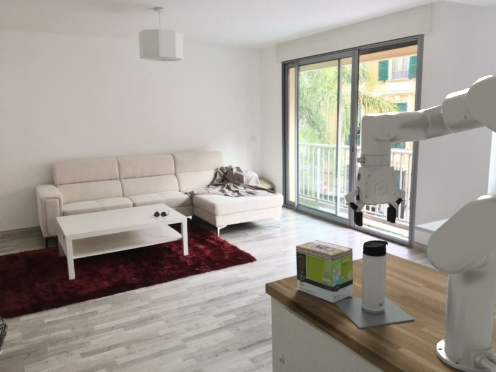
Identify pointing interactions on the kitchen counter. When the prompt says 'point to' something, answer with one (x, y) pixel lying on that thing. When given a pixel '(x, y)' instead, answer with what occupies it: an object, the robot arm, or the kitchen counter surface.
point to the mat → (365, 320)
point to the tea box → (325, 270)
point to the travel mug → (374, 276)
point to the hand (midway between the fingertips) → (375, 223)
